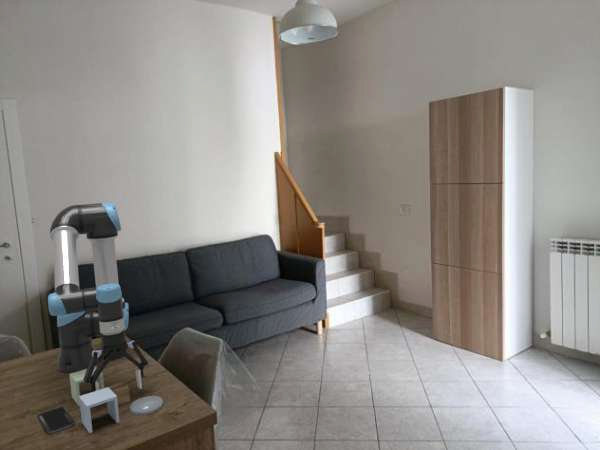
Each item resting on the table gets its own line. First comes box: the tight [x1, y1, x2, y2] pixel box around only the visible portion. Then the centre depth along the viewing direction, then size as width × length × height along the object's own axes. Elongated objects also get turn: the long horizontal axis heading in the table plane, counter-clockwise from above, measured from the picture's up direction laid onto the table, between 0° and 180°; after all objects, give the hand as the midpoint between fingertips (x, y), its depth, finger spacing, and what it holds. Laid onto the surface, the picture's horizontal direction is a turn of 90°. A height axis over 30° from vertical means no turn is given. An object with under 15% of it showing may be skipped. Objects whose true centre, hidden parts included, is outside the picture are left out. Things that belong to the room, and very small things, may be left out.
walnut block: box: [108, 381, 131, 406], centre depth 154 cm, size 5×5×5 cm
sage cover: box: [69, 365, 105, 407], centre depth 158 cm, size 9×9×8 cm
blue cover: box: [79, 386, 121, 434], centre depth 141 cm, size 9×9×8 cm
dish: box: [129, 395, 164, 416], centre depth 149 cm, size 10×10×1 cm
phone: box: [37, 406, 76, 436], centre depth 143 cm, size 8×1×15 cm
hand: (119, 394), depth 154 cm, fingers open, 13 cm apart
